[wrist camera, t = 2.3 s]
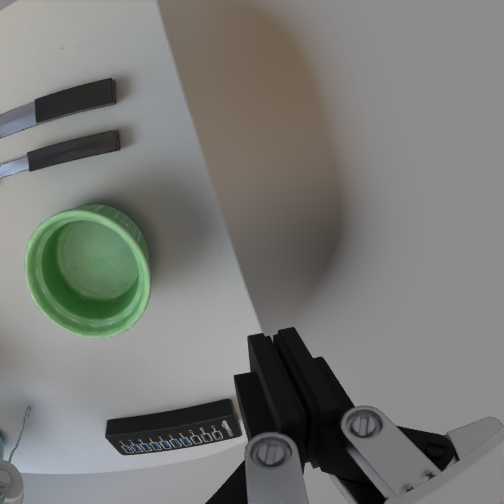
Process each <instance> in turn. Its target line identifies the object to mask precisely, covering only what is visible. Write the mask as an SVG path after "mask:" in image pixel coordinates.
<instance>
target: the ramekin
mask: <svg viewBox="0 0 504 504" xmlns="http://www.w3.org/2000/svg"><path fill="white" fill-rule="evenodd" d="M25 276H26V281H27V285H28V288H29V291H30V293H31V295H32V297H33V299H34V301H35V302H36V304H37V306H38V307H39V308H40V310H41V311H42V312H43V313H44V314H45V315H46V316H47V317H48V318H49V319H50V320H51V321H52V322H53V323H55V324H56V325H57V326H59V327H61V328H62V329H64V330H66V331H68V332H70V333H72V334H75V335H78V336H82V337H87V338H107V337H112V336H115V335H118V334H120V333H122V332H124V331H126V330H128V329H129V328H130V327H131V326H133V325H134V324H135V323H136V322H137V321H138V320H139V318H140V317H141V316H142V314H143V313H144V311H145V309H146V307H147V304H148V302H149V298H150V293H151V273H150V268H149V252H148V246H147V243H146V241H145V238H144V236H143V234H142V232H141V231H140V229H139V228H138V226H137V225H136V224H135V223H134V222H133V221H132V219H130V218H129V217H128V216H127V215H126V214H124V213H122V212H121V211H119V210H117V209H115V208H113V207H109V206H106V205H101V204H89V205H84V206H80V207H77V208H75V209H71V210H66V211H62V212H59V213H57V214H55V215H53V216H51V217H49V218H48V219H46V220H45V221H44V222H43V223H42V224H41V225H40V226H39V227H38V228H37V229H36V231H35V232H34V233H33V235H32V237H31V239H30V241H29V244H28V246H27V250H26V255H25Z"/></svg>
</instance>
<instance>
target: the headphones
mask: <svg viewBox="0 0 504 504" xmlns="http://www.w3.org/2000/svg"><path fill="white" fill-rule="evenodd" d="M29 411H30V407H28V408H27V410H26V413H25V416H24V419H23V423H22V428H21V431H20V435H19V438H18V441H17V444H16V446H15V448H14V449H13V450H12V452H11V455H10V458H9V461H5V460H0V504H22V502H23V497H24V494H23V489H24V486H23V480H22V477H21V475H20V472H19V471H18V470H17V468H16V467H15V466H14V465H13V464H11V458H12V455H13V453H14V451H15V450H16V448H17V446H18V444H19V441H20V438H21V434H22V431H23V427H24V423H25V419H26V415H27V417H28V416H29Z"/></svg>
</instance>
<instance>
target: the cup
mask: <svg viewBox="0 0 504 504" xmlns="http://www.w3.org/2000/svg"><path fill="white" fill-rule="evenodd" d="M3 458H4V443H3V440H2V438H1V436H0V460H3Z"/></svg>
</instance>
